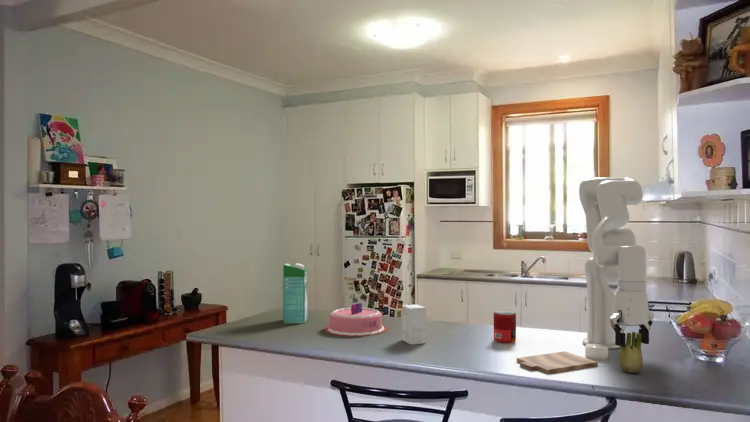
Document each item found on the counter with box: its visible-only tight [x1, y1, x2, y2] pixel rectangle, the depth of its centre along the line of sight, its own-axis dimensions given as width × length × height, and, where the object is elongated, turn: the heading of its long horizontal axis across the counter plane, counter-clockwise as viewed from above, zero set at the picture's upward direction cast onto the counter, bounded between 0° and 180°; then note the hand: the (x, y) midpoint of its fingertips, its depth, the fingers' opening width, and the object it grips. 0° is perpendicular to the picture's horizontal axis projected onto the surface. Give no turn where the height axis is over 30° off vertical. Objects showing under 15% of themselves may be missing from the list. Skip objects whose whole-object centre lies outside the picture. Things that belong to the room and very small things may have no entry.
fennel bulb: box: [619, 331, 644, 374], centre depth 164 cm, size 6×5×12 cm
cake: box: [324, 302, 388, 337], centre depth 222 cm, size 25×25×11 cm
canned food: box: [493, 309, 517, 344], centre depth 203 cm, size 8×8×11 cm
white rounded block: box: [584, 344, 609, 361], centre depth 181 cm, size 7×7×4 cm
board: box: [516, 351, 599, 375], centre depth 172 cm, size 22×14×1 cm, turn 115°
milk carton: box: [282, 262, 308, 324], centre depth 238 cm, size 9×9×25 cm
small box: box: [401, 303, 427, 345], centre depth 202 cm, size 8×6×13 cm
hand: (632, 344), depth 164 cm, fingers open, 9 cm apart
